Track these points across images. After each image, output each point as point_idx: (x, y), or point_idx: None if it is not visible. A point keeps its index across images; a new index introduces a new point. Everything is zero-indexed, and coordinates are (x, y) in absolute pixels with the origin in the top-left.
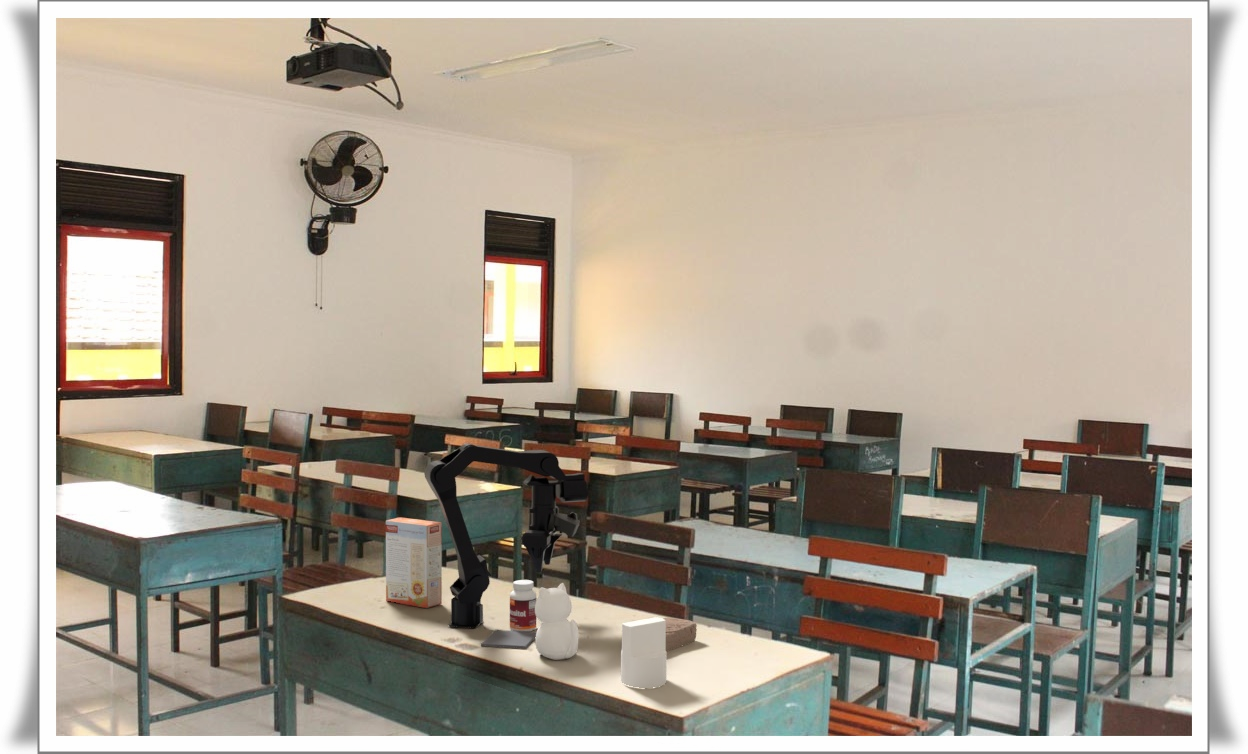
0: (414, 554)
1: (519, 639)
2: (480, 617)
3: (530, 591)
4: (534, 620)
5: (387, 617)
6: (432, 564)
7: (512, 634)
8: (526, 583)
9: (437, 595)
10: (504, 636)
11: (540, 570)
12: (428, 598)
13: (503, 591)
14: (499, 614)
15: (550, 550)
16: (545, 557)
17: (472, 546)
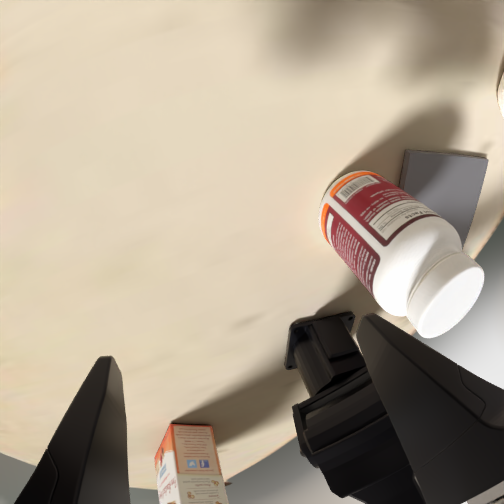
0: None
1: (455, 184)
2: (340, 327)
3: (454, 249)
4: (388, 181)
5: (276, 429)
6: (211, 501)
7: None
8: (475, 283)
9: (185, 441)
10: None
11: (378, 320)
12: (211, 441)
13: (9, 375)
14: (204, 322)
15: (94, 465)
16: (119, 422)
17: (422, 500)
